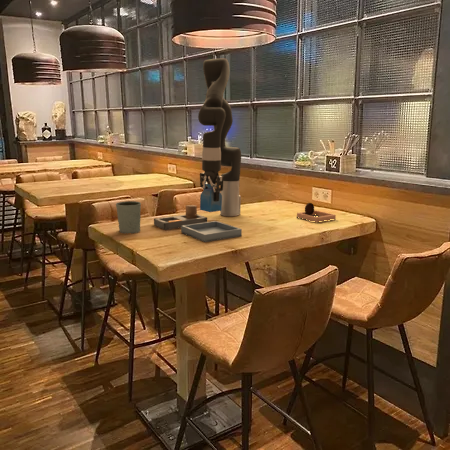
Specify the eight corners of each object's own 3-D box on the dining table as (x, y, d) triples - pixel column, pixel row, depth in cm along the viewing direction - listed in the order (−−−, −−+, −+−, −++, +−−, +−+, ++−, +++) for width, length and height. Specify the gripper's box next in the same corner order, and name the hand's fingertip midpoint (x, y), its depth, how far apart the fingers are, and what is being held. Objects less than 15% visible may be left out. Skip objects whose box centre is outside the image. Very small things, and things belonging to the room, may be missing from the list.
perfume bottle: (211, 208, 193) (211, 179, 191) (221, 210, 189) (222, 181, 186) (200, 209, 189) (200, 180, 186) (210, 212, 185) (210, 182, 182)
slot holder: (194, 219, 218) (194, 212, 217) (207, 223, 210) (207, 216, 209) (153, 225, 206) (153, 217, 205) (165, 229, 197) (165, 222, 197)
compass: (315, 220, 221) (316, 205, 219) (303, 217, 227) (304, 203, 225) (326, 218, 226) (327, 203, 224) (314, 215, 232) (315, 201, 230)
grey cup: (141, 233, 191) (140, 205, 188) (116, 234, 189) (115, 205, 186) (141, 228, 200) (140, 200, 198) (117, 228, 199) (116, 201, 196)
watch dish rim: (315, 215, 233) (315, 210, 232) (335, 219, 222) (335, 214, 222) (296, 218, 225) (297, 213, 225) (316, 223, 215) (316, 217, 214)
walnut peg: (193, 221, 214) (193, 204, 212) (198, 223, 210) (198, 206, 209) (183, 222, 211) (183, 205, 210) (189, 224, 207) (189, 207, 206)
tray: (216, 227, 203) (216, 220, 203) (241, 236, 189) (241, 228, 189) (181, 232, 193) (181, 225, 193) (204, 242, 179) (204, 234, 178)
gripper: (229, 159, 181) (229, 201, 185) (209, 157, 192) (209, 196, 196) (213, 160, 176) (213, 203, 180) (194, 157, 188) (193, 198, 192)
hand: (211, 199), depth 188 cm, fingers closed on perfume bottle, 6 cm apart
